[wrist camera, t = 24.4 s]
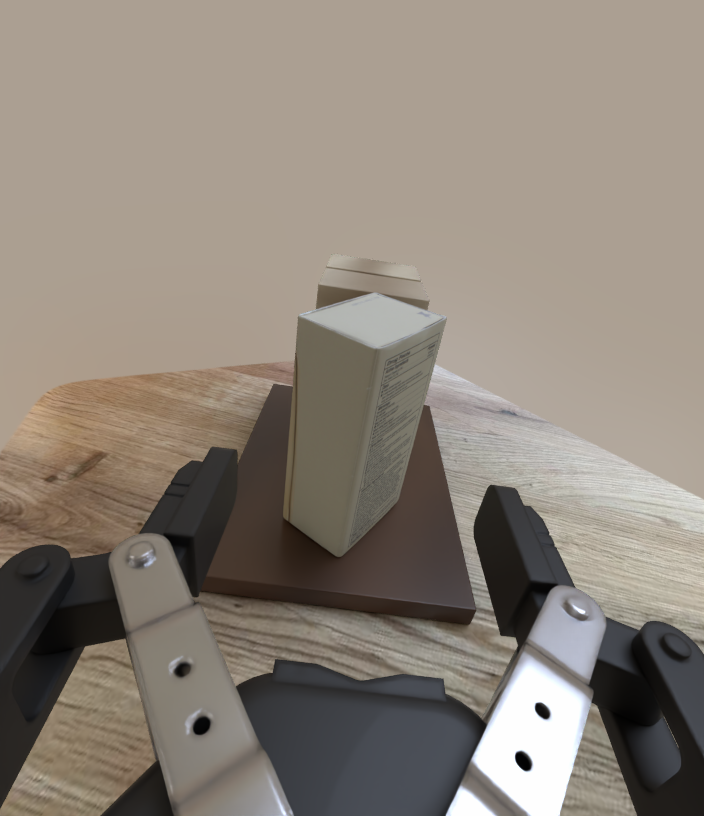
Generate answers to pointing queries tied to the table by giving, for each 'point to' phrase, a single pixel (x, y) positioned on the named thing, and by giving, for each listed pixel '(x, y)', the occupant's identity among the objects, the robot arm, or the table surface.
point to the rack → (384, 543)
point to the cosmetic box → (355, 413)
